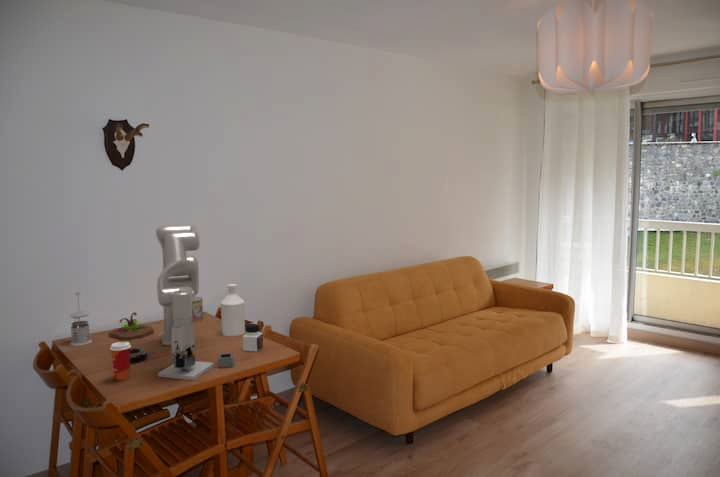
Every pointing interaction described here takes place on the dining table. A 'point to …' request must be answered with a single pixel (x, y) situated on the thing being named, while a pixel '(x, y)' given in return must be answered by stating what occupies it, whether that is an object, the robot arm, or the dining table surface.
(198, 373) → the keeper
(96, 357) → the dining table surface
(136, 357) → the black ashtray
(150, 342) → the dining table surface
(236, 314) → the bottle
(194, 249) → the robot arm
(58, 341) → the dining table surface
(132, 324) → the plant
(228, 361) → the link
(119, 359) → the paper cup
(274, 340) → the dining table surface
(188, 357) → the link
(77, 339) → the french press
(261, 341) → the medicine bottle
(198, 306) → the canned food
